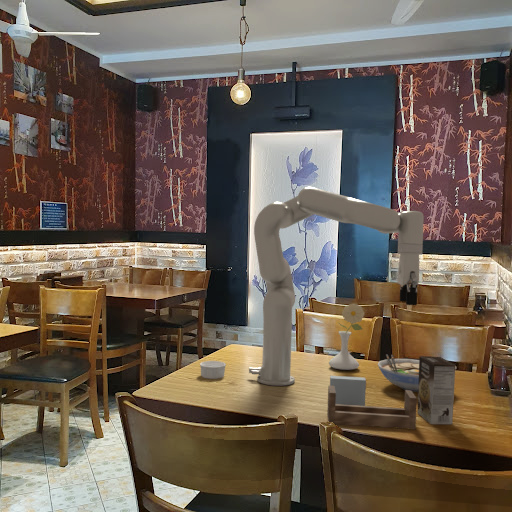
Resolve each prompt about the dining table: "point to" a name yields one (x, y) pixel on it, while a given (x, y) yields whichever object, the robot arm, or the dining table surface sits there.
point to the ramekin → (212, 369)
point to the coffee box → (436, 389)
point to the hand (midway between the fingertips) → (407, 303)
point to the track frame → (373, 413)
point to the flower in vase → (344, 359)
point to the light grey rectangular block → (349, 390)
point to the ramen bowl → (401, 372)
